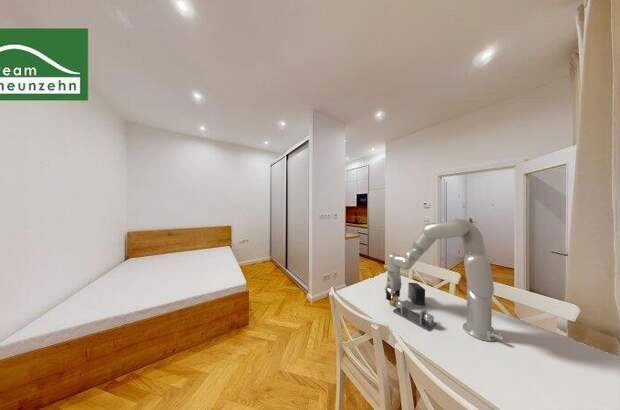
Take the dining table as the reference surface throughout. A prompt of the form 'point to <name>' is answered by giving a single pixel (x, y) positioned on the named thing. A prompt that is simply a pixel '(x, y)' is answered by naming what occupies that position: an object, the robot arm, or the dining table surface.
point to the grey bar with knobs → (415, 315)
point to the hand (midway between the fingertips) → (393, 297)
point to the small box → (416, 293)
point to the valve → (393, 299)
